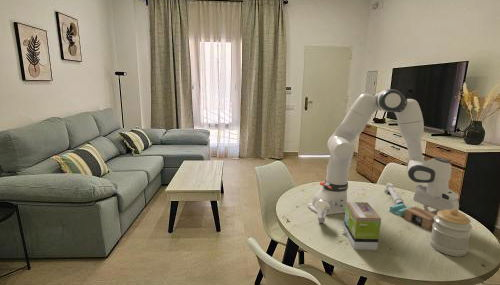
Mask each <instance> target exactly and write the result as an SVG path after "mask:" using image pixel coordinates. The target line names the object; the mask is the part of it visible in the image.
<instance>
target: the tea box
mask: <svg viewBox="0 0 500 285" xmlns="http://www.w3.org/2000/svg"><path fill="white" fill-rule="evenodd" d="M381 224H382V217H381V216H380V215H379V214H378V213H377V211H375V209H374V208H373V207H372V206H371V205H370V204H369V203H368V202H365V201H364V202H362V201H360V202H357V201H356V202H354V201H351V202H349V201H347V202H346V210H345V213H344V225H343V231H344V234H345V235H346V237H347V239H348V241H349V242H350V245H351V246H352V248H353V250H366V251H367V250H368V251H377V250H378V247H379V239H380V238H379V237H380V229H381Z"/></svg>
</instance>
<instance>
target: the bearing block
mask: <svg viewBox="0 0 500 285" xmlns="http://www.w3.org/2000/svg"><path fill="white" fill-rule="evenodd" d="M411 207H412V208H408V209H406V210H405V215H404V217H403V219H404V220H405V221H407V222H410V223H412V222H414V217H415V216H418V217H421V218H423V220H422V224H421V227H420V228H422V229H424V230H427V231H431V230H432V227H433V226H432V225H433V223H434V222H435V221H434V216H436V215H435V214H433V213H430V212H431V211H430V212H428V211H426V210H425V209H423V208H421V207H418V206H416V205H415V206H411Z"/></svg>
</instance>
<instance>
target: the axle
mask: <svg viewBox="0 0 500 285" xmlns="http://www.w3.org/2000/svg"><path fill="white" fill-rule="evenodd" d="M437 212H438V210H436V209H434V210H431V211H430V213H433V214H435V215H437ZM422 220H423V218H421V217H418V216H415V217H414V221H413V222H414V224H416V225H422Z"/></svg>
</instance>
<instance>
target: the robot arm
mask: <svg viewBox="0 0 500 285" xmlns="http://www.w3.org/2000/svg"><path fill="white" fill-rule="evenodd" d="M376 111H382V112H385V113H387V112H388V113H394V114H395V117H396V121H397V128H398V131H399V134H400V136H401V137H402V138H403V140H404V141H405V143H406V147H407V152H408V161H407V164H406V170H407V175H408V178H409V179H410V180H411V181H412V182H414V183H418V185H415V189H414V190H415V191H414V194H413V201H414V202H415V203H417V204H421V205H423V208H424V209H423V210H426V211H428V212H431V211H430V210H429V208H431V209H434V210H438V211H442V210H451V209H457V210H458V212H459V211H460V210H459V208H460V203H459V200H458V199H459V198H460V195H459V194H458V193H457V192H454V191H453V190H452V189H450V188H449V187H450V185H449V182H450V180H451V176H452V164H451V162H449V160H448V159H444V158H441V157H433V158H432V159H431V158H430V159H429V160H426V158H424V155H423V150H422V144H421V142H422V141H421V140H422V137H423V135H424V130H425V128H424V127H425V124H424V123H425V122H424V117H423V112H422V110H421V107H420V105H419V102H418V101H417V100H416V99H413V98H406V97H405V95H403V94H402V92H400V91H399V90H398V89H394V88H387V89H383V90H380V91H378V92H377V93H375V94H371V93H362V94H360V95H359V96H358V97H357V98H356V100H354V102H353V104H352V105H351V107H350V108H349V110H348V112H347V113H346V115H345V116H344V118H343V119H342V122H340V124H339V125H338V126H337V128H336V129H335V130H334V132H333V133H332V135H331V136H330V137H329V138H328V140H327V143H326V145H327V149H328V150H329V154H330V155H329V159H328V163H327V167H326V177H325V178H326V179H325V181H320V182H319V186H322V187H321V188H320V189H319V190H318V191H317V192H315V194H314V195H313V196H312V200H311V202H308V203H307V207H308V209H310V210H311V211H312V212H315V213H316V214H317V211H316V209H315V204H316V202H317V201H318V200H320V199H324V200H326V201H327V202H328V203H329V205H330V209H329V212H328V213H327V214H326V216H330V215H336V214H345V210H346V202H348V188H349V182H348V181H349V180H348V179H349V169H350V165H351V162H352V159H353V156H354V153H355V152H354V151H355V149H354V145H353V141H354V140H355V139H357V137H358V136H359V135H361V134H362V132H363V130H364V129H365V128H366V126H367V124H368V123H369V121H370V120H371V118H372V116H373V114H375V112H376ZM419 183H420V184H419ZM421 183H422V184H426V186H424V185H422V184H421Z"/></svg>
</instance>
